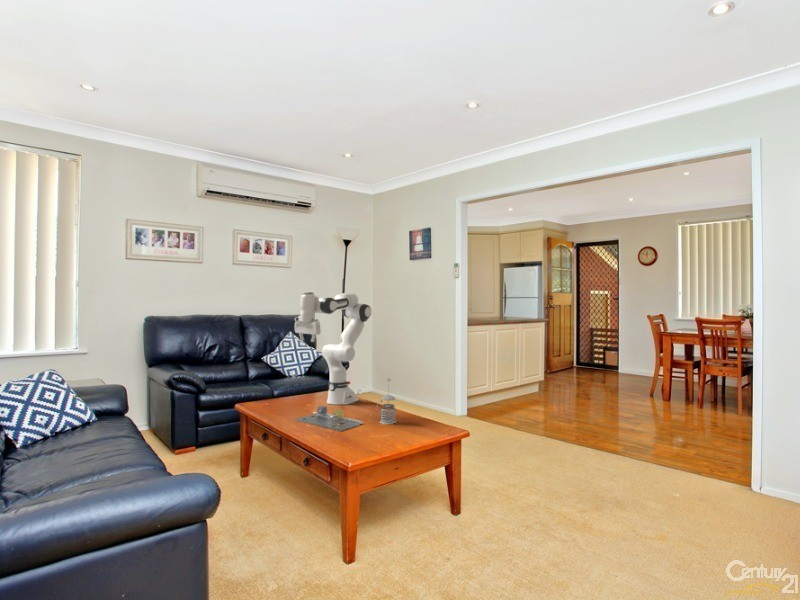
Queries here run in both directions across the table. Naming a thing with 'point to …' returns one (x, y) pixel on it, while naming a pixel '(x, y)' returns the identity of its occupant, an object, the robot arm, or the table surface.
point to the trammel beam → (323, 412)
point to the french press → (387, 419)
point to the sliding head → (338, 413)
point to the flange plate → (327, 422)
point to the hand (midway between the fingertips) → (307, 341)
